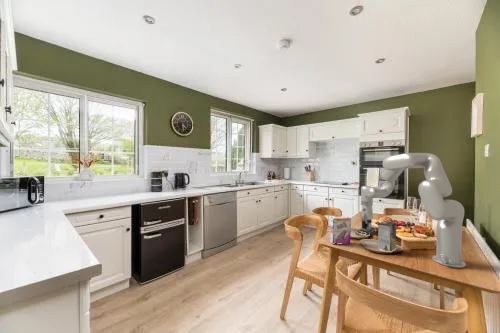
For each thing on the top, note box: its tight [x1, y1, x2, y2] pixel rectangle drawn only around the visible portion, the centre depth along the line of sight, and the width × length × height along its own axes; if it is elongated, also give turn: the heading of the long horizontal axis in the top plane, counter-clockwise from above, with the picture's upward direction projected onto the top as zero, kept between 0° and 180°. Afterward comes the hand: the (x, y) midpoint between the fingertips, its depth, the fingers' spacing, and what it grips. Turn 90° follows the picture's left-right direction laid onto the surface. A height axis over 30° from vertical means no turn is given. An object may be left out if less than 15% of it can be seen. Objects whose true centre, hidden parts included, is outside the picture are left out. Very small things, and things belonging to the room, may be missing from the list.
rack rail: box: [357, 226, 377, 235], centre depth 161 cm, size 20×8×2 cm, turn 135°
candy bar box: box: [329, 216, 352, 245], centre depth 140 cm, size 11×5×16 cm, turn 91°
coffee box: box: [377, 220, 397, 251], centre depth 128 cm, size 9×6×16 cm
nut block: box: [361, 221, 372, 232], centre depth 161 cm, size 4×4×8 cm
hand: (366, 227), depth 161 cm, fingers open, 9 cm apart
